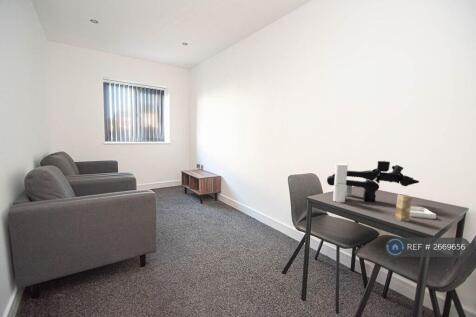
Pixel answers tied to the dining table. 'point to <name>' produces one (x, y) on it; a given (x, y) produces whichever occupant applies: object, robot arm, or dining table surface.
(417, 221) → the dining table surface
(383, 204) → the dining table surface
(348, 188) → the skincare box
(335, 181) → the cylindrical container
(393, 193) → the dining table surface
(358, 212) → the dining table surface
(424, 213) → the tray
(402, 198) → the oak block
